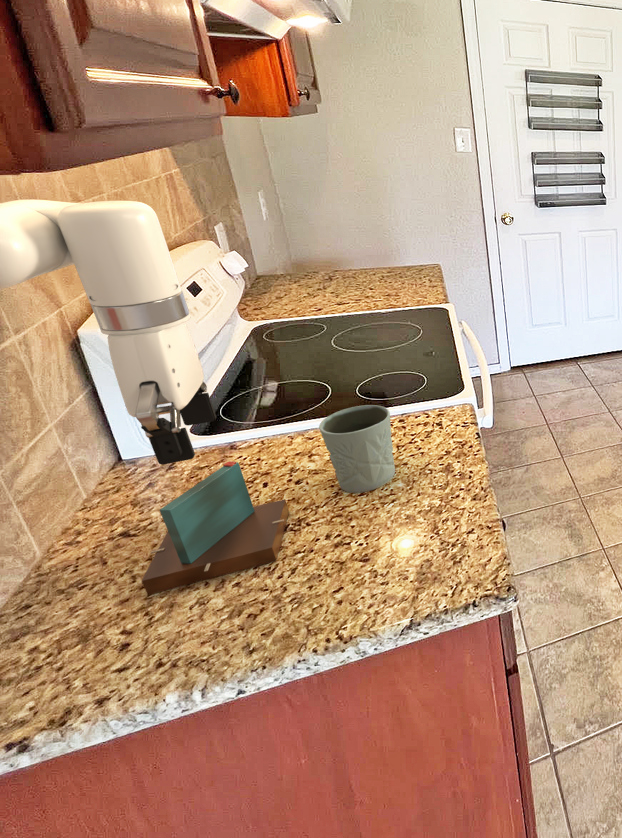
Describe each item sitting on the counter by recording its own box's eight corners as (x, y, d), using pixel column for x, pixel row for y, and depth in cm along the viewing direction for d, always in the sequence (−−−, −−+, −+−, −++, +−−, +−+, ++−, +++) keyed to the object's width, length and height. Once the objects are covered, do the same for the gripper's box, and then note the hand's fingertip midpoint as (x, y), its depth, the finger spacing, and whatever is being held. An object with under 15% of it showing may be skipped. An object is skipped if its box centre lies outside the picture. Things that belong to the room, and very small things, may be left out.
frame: (190, 563, 78) (168, 508, 74) (180, 563, 78) (158, 508, 74) (255, 511, 88) (238, 460, 85) (246, 510, 88) (229, 460, 85)
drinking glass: (321, 494, 96) (304, 433, 92) (357, 460, 105) (343, 403, 101) (382, 495, 96) (368, 434, 92) (412, 461, 106) (400, 404, 101)
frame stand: (137, 605, 74) (130, 590, 73) (174, 533, 87) (168, 519, 86) (279, 567, 81) (275, 552, 80) (295, 505, 93) (291, 491, 92)
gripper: (128, 294, 70) (173, 415, 77) (61, 343, 56) (122, 487, 63) (206, 288, 74) (243, 404, 80) (161, 332, 60) (209, 469, 66)
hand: (190, 440), depth 71 cm, fingers open, 9 cm apart
